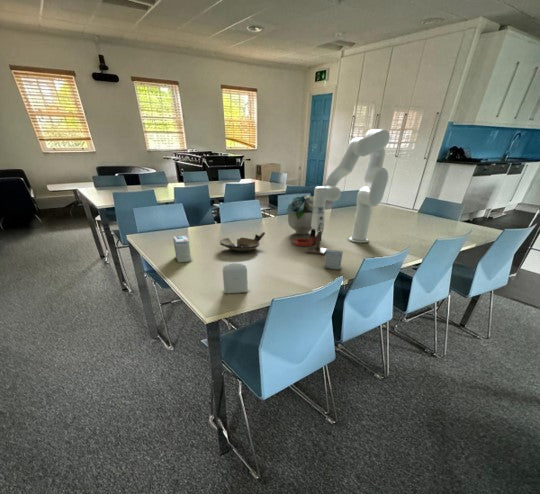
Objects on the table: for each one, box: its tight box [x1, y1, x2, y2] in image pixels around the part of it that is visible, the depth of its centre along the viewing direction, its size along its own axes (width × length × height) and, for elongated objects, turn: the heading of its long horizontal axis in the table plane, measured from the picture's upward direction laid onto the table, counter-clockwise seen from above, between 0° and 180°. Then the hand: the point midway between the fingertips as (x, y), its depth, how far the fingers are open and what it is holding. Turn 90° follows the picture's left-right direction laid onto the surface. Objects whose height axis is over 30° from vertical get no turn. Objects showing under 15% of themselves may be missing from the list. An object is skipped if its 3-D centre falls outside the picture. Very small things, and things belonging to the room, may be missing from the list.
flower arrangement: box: [285, 194, 314, 235], centre depth 214 cm, size 25×25×24 cm
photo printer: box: [222, 262, 249, 294], centre depth 130 cm, size 10×4×12 cm, turn 100°
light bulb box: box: [172, 235, 192, 263], centre depth 165 cm, size 11×7×11 cm, turn 23°
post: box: [306, 233, 328, 256], centre depth 182 cm, size 10×10×10 cm
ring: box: [293, 235, 317, 248], centre depth 197 cm, size 16×12×4 cm
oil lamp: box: [219, 231, 266, 252], centre depth 183 cm, size 22×30×8 cm
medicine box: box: [323, 248, 344, 271], centre depth 159 cm, size 8×4×9 cm, turn 71°
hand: (315, 239), depth 198 cm, fingers open, 8 cm apart
